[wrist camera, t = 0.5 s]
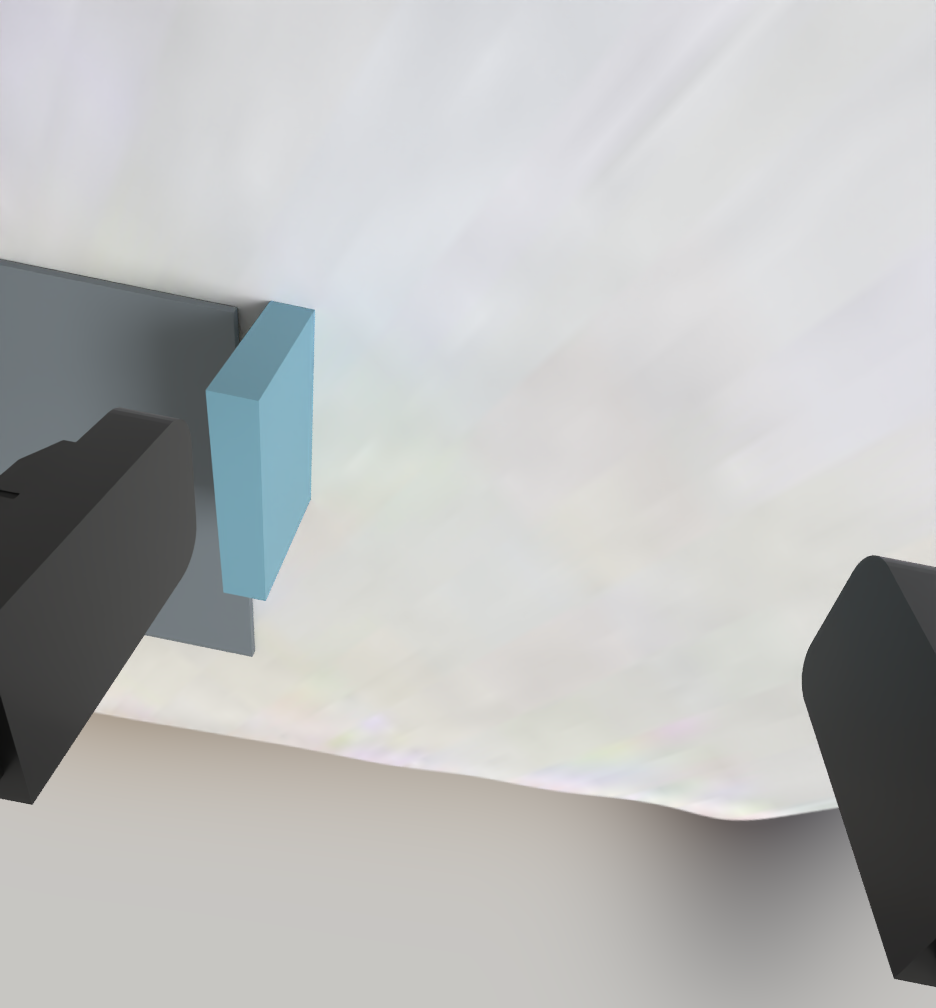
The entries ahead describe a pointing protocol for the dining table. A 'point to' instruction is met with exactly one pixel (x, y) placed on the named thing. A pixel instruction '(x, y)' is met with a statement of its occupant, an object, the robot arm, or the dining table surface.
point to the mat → (123, 403)
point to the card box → (262, 446)
